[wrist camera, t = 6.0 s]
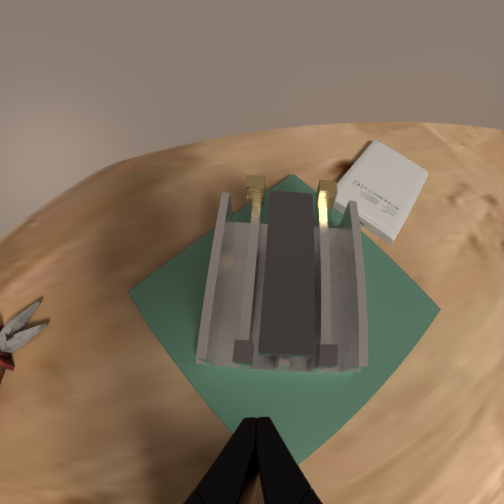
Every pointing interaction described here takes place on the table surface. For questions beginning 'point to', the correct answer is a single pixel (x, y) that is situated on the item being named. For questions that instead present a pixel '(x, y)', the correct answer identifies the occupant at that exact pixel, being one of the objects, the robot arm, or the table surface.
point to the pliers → (16, 336)
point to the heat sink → (251, 291)
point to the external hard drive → (381, 189)
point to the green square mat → (283, 383)
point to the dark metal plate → (289, 277)
